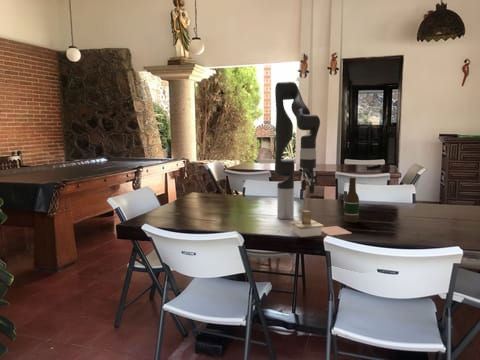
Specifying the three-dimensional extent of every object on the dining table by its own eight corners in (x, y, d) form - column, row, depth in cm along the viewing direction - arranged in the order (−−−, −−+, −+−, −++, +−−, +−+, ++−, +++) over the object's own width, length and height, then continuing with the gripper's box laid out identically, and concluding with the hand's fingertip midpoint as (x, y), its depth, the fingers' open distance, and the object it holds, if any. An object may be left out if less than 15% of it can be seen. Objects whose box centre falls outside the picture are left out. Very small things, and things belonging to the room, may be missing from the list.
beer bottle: (356, 219, 212) (357, 176, 209) (360, 223, 204) (362, 178, 201) (342, 219, 212) (343, 176, 208) (346, 223, 204) (347, 178, 201)
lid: (289, 223, 189) (289, 209, 188) (311, 221, 192) (311, 207, 191) (300, 229, 177) (300, 214, 176) (323, 226, 181) (323, 212, 180)
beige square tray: (291, 232, 189) (291, 223, 188) (310, 230, 192) (311, 221, 191) (300, 238, 179) (301, 228, 178) (321, 236, 182) (321, 226, 181)
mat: (315, 228, 194) (316, 228, 194) (336, 226, 198) (336, 226, 198) (330, 236, 181) (330, 235, 181) (352, 233, 184) (352, 233, 184)
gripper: (294, 156, 186) (294, 189, 189) (307, 159, 173) (307, 194, 175) (308, 156, 188) (307, 188, 191) (322, 158, 175) (321, 193, 177)
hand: (307, 191), depth 183 cm, fingers open, 8 cm apart
